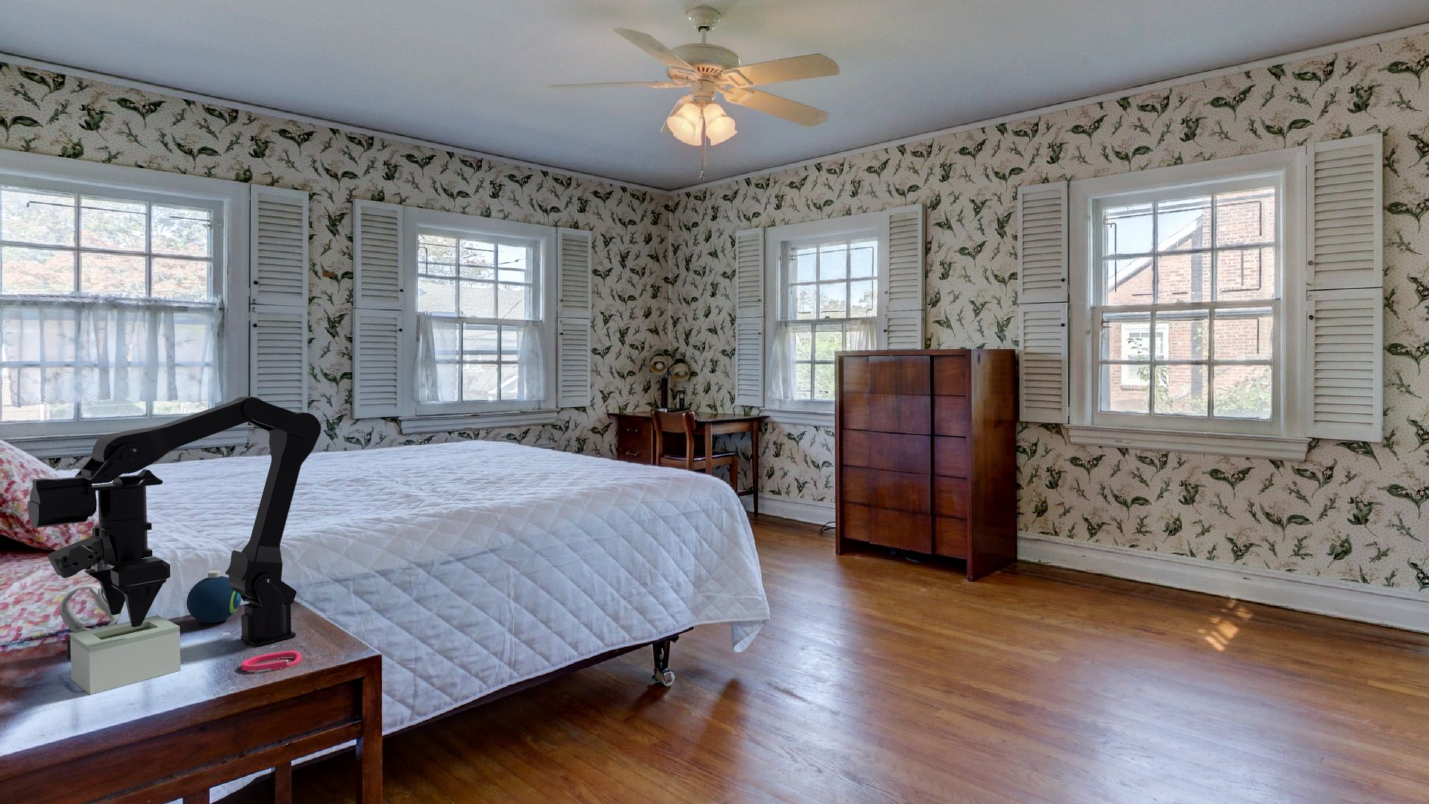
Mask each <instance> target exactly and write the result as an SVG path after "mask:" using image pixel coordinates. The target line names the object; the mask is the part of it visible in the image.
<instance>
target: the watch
mask: <svg viewBox="0 0 1429 804" xmlns="http://www.w3.org/2000/svg"><path fill="white" fill-rule="evenodd" d="M81 590H88V591H89V593H91V595H92V596H93V600H94V603H95V604H96V606H97V607H98V609H100V611H102V612H104V613H105V614H107V616H108V617H109V619H111V620H110V622H109V623H108V624H107V626H111V625H115V624H116V623H117V622H118V621H119V619H120V617H121V616H122V612H123V609H124V607H125V604H124V605H123V608H122V611H121V613H120V614H118V615H111V613H110V610H109V608H108V605H107V602H106V599H105V596H104V593H103V591H102V588H101V585H100V583H97V582H96V583H88V584H84V585H82V586H79V587H77V588H75V589H73V590H72V591H70V592H69V593H67V594H66V595H65V596H64V598H63V599H62V600H61V603H60V610H59V614H60V617H61V619H62V621H63V623H64V624H65V626H66V627H67V628H68V629H69V630H70V631H71V632H72V633H78V632H83V631H87V630H92V629H97V628H98V627H90V628H87V627H85V626H83V624H84V623H83V622H81V620H80V619H79V618H78V615H76V613H75V611H74V609H73V608H72V604H71V601H72V600H71V599H72V598H73V596H74V595H75V594H76V593H77V592H78V591H81ZM66 651H67V652H66V653H67V660H71V643H70V638H68V639H66Z"/></svg>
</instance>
